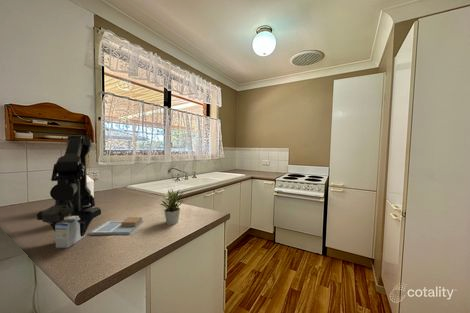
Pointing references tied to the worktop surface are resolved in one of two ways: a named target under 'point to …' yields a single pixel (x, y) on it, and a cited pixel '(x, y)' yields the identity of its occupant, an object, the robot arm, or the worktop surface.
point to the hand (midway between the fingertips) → (70, 236)
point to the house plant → (172, 207)
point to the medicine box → (67, 232)
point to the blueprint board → (118, 227)
